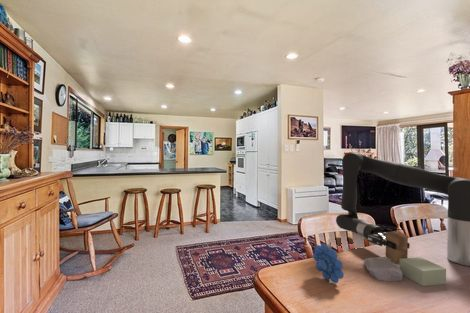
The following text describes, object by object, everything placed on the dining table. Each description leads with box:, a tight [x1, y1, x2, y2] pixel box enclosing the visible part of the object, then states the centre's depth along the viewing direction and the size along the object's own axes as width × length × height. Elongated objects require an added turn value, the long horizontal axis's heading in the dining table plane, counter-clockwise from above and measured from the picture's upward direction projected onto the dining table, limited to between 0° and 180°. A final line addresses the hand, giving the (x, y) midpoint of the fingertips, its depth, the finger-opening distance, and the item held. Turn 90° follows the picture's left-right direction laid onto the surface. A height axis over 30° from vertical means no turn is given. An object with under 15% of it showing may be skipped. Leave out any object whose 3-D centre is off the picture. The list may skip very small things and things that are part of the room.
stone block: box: [363, 256, 404, 282], centre depth 86 cm, size 12×5×10 cm
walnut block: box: [385, 230, 409, 262], centre depth 92 cm, size 5×5×10 cm
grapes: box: [312, 243, 344, 284], centre depth 80 cm, size 12×7×12 cm, turn 33°
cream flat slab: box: [376, 256, 400, 268], centre depth 93 cm, size 10×9×1 cm
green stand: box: [400, 256, 447, 287], centre depth 82 cm, size 9×9×5 cm
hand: (402, 246), depth 90 cm, fingers closed on walnut block, 5 cm apart
